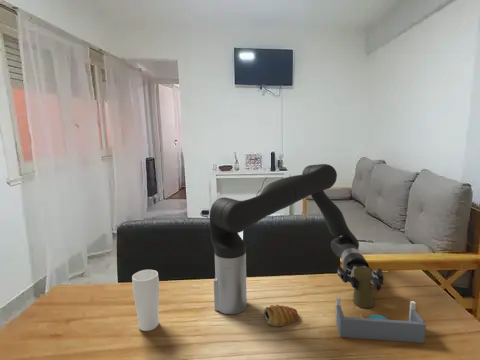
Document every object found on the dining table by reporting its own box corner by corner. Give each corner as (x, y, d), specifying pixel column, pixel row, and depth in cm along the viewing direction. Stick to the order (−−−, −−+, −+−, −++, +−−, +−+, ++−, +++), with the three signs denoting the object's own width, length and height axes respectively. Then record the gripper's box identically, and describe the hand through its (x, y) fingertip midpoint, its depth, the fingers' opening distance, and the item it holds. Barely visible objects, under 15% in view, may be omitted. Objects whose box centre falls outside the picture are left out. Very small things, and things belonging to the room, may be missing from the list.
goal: (340, 336, 77) (341, 311, 76) (335, 320, 84) (336, 296, 83) (424, 343, 74) (426, 317, 73) (412, 325, 81) (414, 301, 80)
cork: (376, 308, 88) (375, 272, 87) (354, 307, 89) (353, 272, 88) (371, 297, 94) (371, 264, 93) (351, 296, 95) (350, 263, 94)
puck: (372, 336, 77) (373, 326, 76) (365, 324, 82) (365, 314, 81) (392, 337, 77) (393, 326, 76) (383, 324, 82) (384, 314, 81)
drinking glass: (138, 337, 78) (133, 283, 76) (134, 323, 84) (130, 272, 82) (164, 329, 81) (160, 277, 79) (158, 315, 87) (155, 267, 85)
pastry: (292, 310, 89) (293, 298, 88) (302, 324, 82) (302, 312, 82) (262, 315, 87) (262, 302, 86) (269, 330, 80) (269, 317, 80)
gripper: (333, 251, 105) (342, 274, 88) (376, 253, 103) (394, 276, 86) (332, 271, 106) (341, 297, 90) (375, 273, 104) (392, 300, 88)
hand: (367, 287), depth 88 cm, fingers open, 5 cm apart
